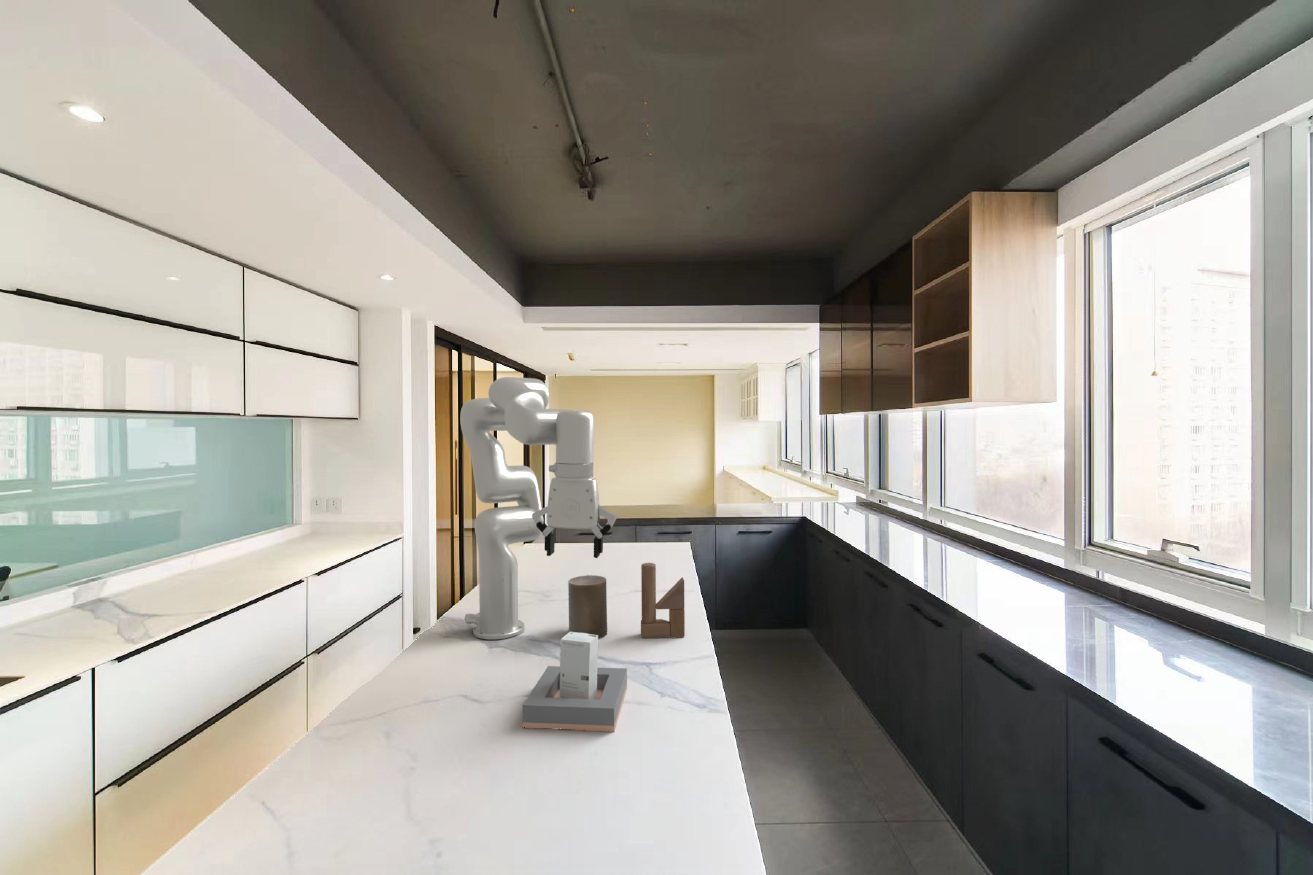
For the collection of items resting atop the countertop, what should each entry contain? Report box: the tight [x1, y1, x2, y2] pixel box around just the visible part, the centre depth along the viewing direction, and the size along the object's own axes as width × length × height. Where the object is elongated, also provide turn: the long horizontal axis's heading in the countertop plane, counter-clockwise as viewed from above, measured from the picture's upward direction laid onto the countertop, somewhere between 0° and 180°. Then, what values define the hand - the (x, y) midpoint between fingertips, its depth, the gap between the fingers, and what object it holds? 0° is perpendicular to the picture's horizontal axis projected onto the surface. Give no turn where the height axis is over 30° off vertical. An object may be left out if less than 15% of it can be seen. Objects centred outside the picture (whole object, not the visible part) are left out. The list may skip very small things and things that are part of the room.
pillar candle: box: [567, 574, 608, 640], centre depth 142 cm, size 10×10×15 cm
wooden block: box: [640, 562, 686, 639], centre depth 140 cm, size 4×11×18 cm, turn 93°
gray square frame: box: [522, 665, 628, 733], centre depth 104 cm, size 16×16×4 cm
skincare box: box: [559, 631, 599, 699], centre depth 104 cm, size 6×4×12 cm
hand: (573, 555), depth 114 cm, fingers open, 9 cm apart
